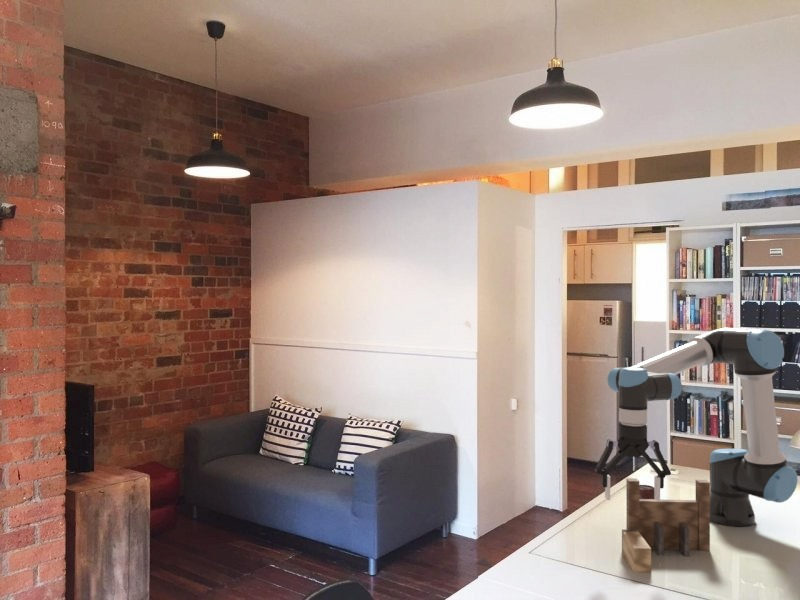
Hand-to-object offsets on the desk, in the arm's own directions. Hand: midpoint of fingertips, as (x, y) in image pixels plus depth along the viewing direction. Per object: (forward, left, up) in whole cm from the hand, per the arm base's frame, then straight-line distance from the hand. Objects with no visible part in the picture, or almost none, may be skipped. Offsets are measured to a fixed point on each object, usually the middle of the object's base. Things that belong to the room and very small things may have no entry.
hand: (632, 499), depth 186 cm
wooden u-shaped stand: (-13, -10, -18) cm, 24 cm away
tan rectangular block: (-1, 0, -18) cm, 18 cm away
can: (-11, -25, -18) cm, 33 cm away
